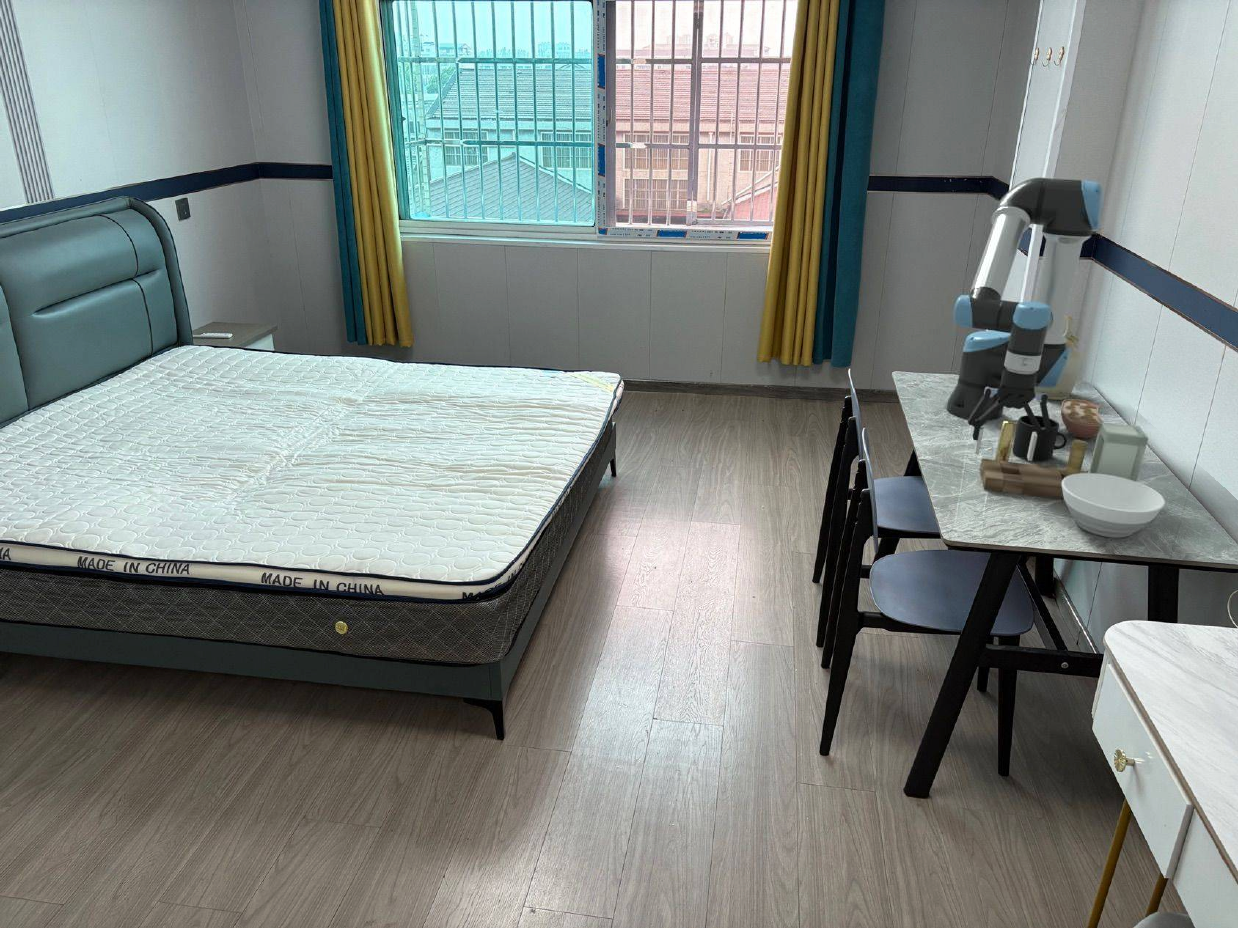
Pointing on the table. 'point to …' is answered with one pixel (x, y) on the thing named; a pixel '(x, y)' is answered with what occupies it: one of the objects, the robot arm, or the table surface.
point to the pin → (1005, 440)
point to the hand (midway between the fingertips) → (1002, 455)
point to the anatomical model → (1080, 417)
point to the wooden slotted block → (1031, 475)
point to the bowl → (1110, 503)
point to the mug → (1047, 440)
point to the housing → (1118, 451)
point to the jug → (1066, 368)
